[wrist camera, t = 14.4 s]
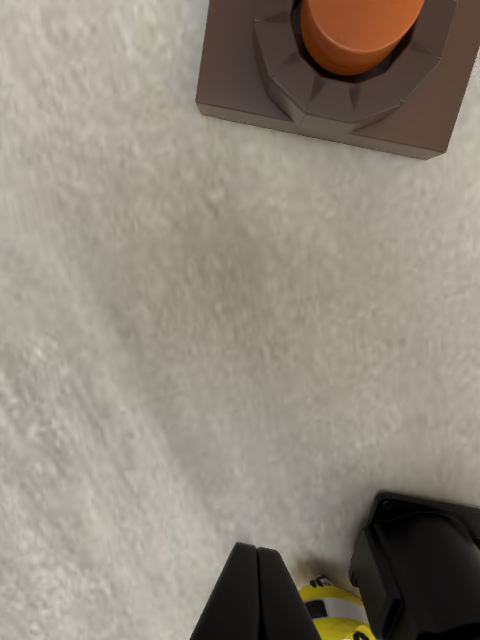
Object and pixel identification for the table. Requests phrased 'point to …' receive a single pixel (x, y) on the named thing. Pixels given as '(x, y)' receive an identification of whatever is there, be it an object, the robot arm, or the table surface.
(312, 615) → the yellow striped curved toy
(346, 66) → the button
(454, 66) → the button block
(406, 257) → the table surface
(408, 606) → the robot arm
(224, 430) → the table surface
